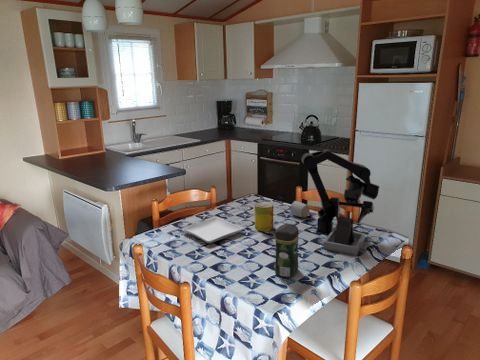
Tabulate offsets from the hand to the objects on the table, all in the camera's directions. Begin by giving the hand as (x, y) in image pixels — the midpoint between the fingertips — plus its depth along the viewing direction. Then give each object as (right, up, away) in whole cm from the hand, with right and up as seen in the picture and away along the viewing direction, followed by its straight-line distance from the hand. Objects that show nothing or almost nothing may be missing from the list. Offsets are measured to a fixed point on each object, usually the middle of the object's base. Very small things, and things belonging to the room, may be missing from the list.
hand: (347, 221), depth 164 cm
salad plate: (-60, -8, +15) cm, 62 cm away
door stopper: (-2, -10, -2) cm, 10 cm away
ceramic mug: (-15, -1, +36) cm, 39 cm away
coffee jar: (-30, -17, -22) cm, 41 cm away
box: (-2, -10, -1) cm, 10 cm away
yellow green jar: (-35, -5, +20) cm, 41 cm away
